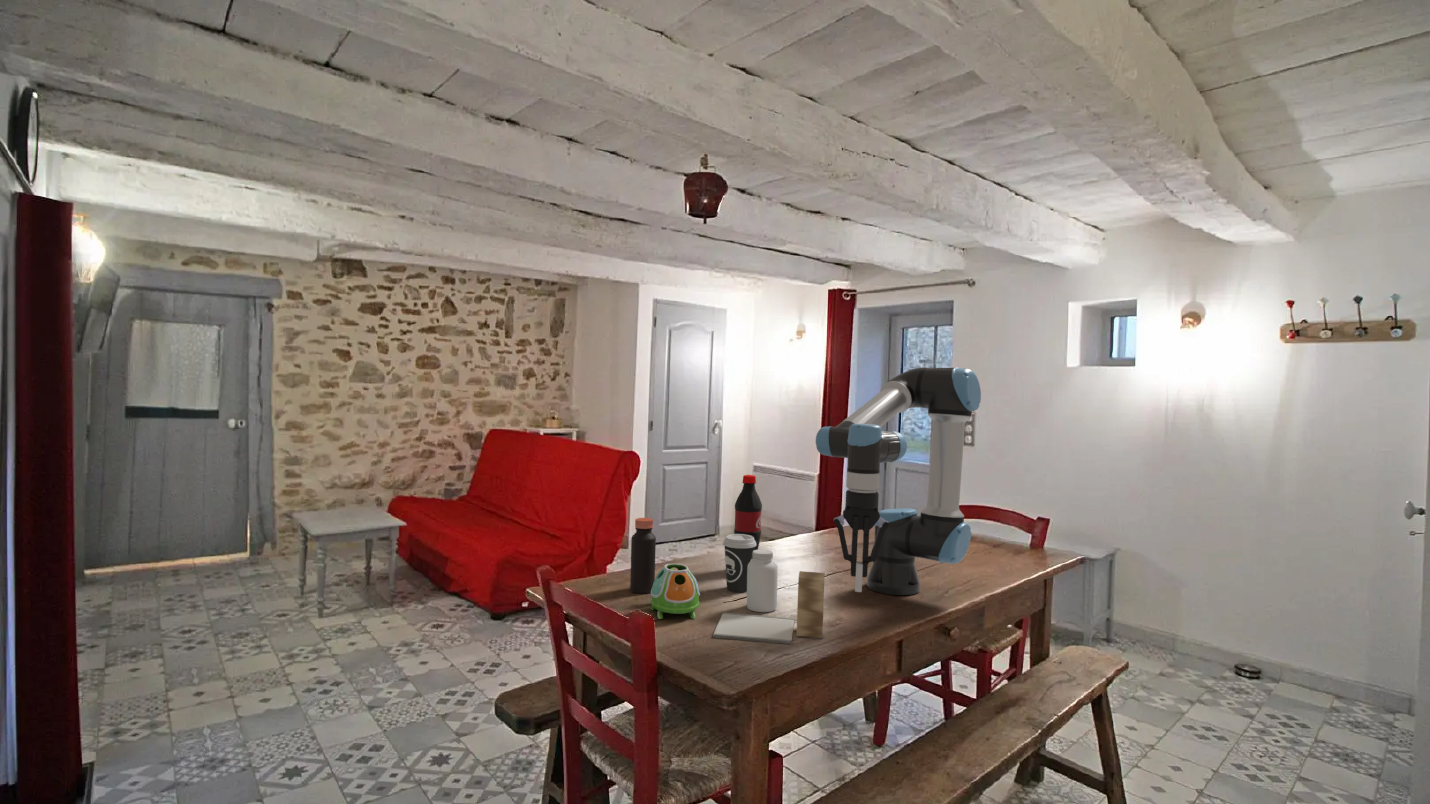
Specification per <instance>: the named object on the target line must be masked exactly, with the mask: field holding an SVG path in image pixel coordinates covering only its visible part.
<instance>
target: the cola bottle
mask: <svg viewBox="0 0 1430 804" xmlns="http://www.w3.org/2000/svg"><path fill="white" fill-rule="evenodd" d="M756 480H757V478H756V476H755V475H753V474H744V475H743V477H742V484H743V485H742V489H741V491H740V493H739V495H738V497H737V499H736V502H735V503H734V529H733V534H745V535H750V536H753V537H754V540H755V541H756V546H755V549H754V550H759V546H760V541H761V537H762V536H761V535H762V510H763V503H762V501H761V498H760V496H759V493H758V491H757V490H756V485H755V484H757V483H756V482H757V481H756Z"/></svg>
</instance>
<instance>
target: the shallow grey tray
mask: <svg viewBox="0 0 1430 804" xmlns="http://www.w3.org/2000/svg"><path fill="white" fill-rule="evenodd" d="M794 627H795V617H783V616H772V615H771V616H770V615H759V614H745V613H734V612H722V614H721V617H720V619H719V621H718V623H717V625H716V627H715V629H714V633H713V634H712V638H715V639H727V640H735V641H736V640H738V641H739V640H740V641H749V642H761V643H772V644H781V645H782V644H783V645H792V640H793V633H794Z"/></svg>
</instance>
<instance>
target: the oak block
mask: <svg viewBox="0 0 1430 804" xmlns="http://www.w3.org/2000/svg"><path fill="white" fill-rule="evenodd" d="M825 577H826V576H825V572H814V571H802V570H800V571H798V579H797V580H798V582H797V584H798V585H797V607H796V608H797V609H796V610H797V612H796V613H797V614H796V616H797V617H796V638H801V637H802V638H803V639H804V638H805V639H812V640H813V639H814V640H815V639H817V640H823V634H824V633H823V631H824V630H823V628H824V608H825V607H824V602H825V580H826V579H825ZM802 638H801V639H802Z"/></svg>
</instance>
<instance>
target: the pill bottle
mask: <svg viewBox="0 0 1430 804" xmlns="http://www.w3.org/2000/svg"><path fill="white" fill-rule="evenodd" d="M773 558H774V552H773V551H772V550H770V549H760V548H758V550H754V551H753V560H752V561H751V562H749V564H748V567H747V592H746V607H747V609H748V610H750V611H753V612H756V613H771V612H774V611H775V610H776V609H777V606H778V574H779V573H778V572H779V571H778V568H779V567H778V565H777V563H776V562H775V561H774V559H773Z"/></svg>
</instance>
